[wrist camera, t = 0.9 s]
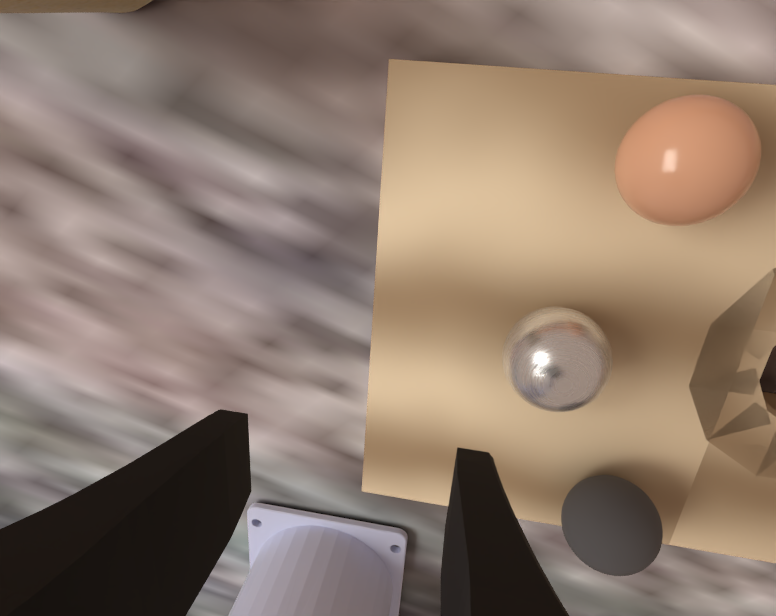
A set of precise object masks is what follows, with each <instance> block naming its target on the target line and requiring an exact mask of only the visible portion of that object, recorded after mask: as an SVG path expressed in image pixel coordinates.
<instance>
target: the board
mask: <svg viewBox="0 0 776 616" xmlns="http://www.w3.org/2000/svg"><path fill="white" fill-rule="evenodd" d="M686 95H710V96H716V97H719V98H723V99H725V100H727V101H730V102H732V103H733V104H735V105H736V106H738V107H739V108H741V109H742V110H743V111H744V112H745V113H746V114H747V115H748V116H749V117H750V118H751V120H752V121H753V123H754V125H755V127H756V129H757V131H758V134H759V137H760V141H761V160H760V165H759V169H758V172H757V175H756V177H755V179H754V181H753V183H752V185H751V187H750V188H749V189H748V191H747V192H746V194H745V195H744V196H743V197H742V198H741V199H740V200H739V201H738V202H737V203H736V204H735V205H734V206H733V207H731V208H730V209H729V210H727V211H726V212H724V213H723V214H721V215H719V216H717V217H715V218H713V219H711V220H708V221H705V222H702V223H699V224H694V225H689V226H667V225H660V224H657V223H654V222H651V221H649V220H647V219H645V218H642V217H641V216H639V215H638V214H636V213H635V212H634V211H633V210H632V209H631V208H630V207H629V206H628V205H627V204H626V203H625V201H624V200H623V198H622V197H621V195H620V193H619V191H618V188H617V184H616V180H615V172H614V168H615V159H616V154H617V151H618V147H619V145H620V143H621V141H622V139H623V137H624V135H625V134H626V132H627V131H628V130H629V128H630V127H631V126H632V125H633V123H634V122H635V121H636V120H637V119H638V118H639V117H641V116H642V115H643V114H644V113H646V112H647V111H648V110H650V109H651V108H653V107H654V106H656V105H658V104H660V103H662V102H664V101H667V100H670V99H673V98H676V97H680V96H686ZM546 307H565V308H570V309H573V310H577V311H579V312H581V313H583V314H585V315H587V316H588V317H590V318H591V319H592V320H593V321H595V322H596V323H597V324H598V325H599V326H600V328H601V329H602V330H603V332H604V333H605V335H606V336H607V338H608V341H609V343H610V346H611V350H612V356H613V367H612V372H611V376H610V379H609V382H608V384H607V385H606V387H605V389H604V390H603V391H602V393H601V394H600V395H599V396H598V397H597V398H596V399H595V400H594V401H592V402H591V403H589V404H588V405H586V406H584V407H582V408H579V409H577V410H573V411H568V412H550V411H545V410H541V409H538V408H536V407H534V406H532V405H530V404H529V403H527V402H525V401H524V400H523V399H521V398H520V397H519V396H518V395H517V394H516V393H515V392H514V390H513V389H512V388H511V386H510V384H509V382H508V381H507V379H506V376H505V373H504V370H503V365H502V352H503V346H504V342H505V340H506V337H507V335H508V333H509V332H510V330H511V329H512V327H513V326H514V325H515V324H516V323H517V322H518V321H519V320H520V319H521V318H522V317H524V316H525V315H527V314H529V313H530V312H533V311H535V310H538V309H541V308H546ZM774 346H776V85H768V84H753V83H738V82H723V81H709V80H694V79H679V78H664V77H649V76H634V75H619V74H604V73H590V72H575V71H560V70H545V69H530V68H515V67H500V66H486V65H471V64H456V63H441V62H426V61H411V60H396V59H389V66H388V82H387V98H386V114H385V130H384V146H383V162H382V178H381V194H380V209H379V225H378V241H377V257H376V273H375V289H374V305H373V321H372V337H371V352H370V368H369V384H368V400H367V416H366V432H365V448H364V464H363V480H362V491H363V492H369V493H375V494H381V495H386V496H392V497H398V498H404V499H409V500H415V501H421V502H427V503H432V504H438V505H444V506H448V505H449V499H450V492H451V486H452V479H453V472H454V466H455V459H456V453H457V447H458V448H465V449H471V450H477V451H484V452H489V453H490V455H491V456H492V457H493V459H494V462H495V466H496V469H497V472H498V475H499V477H500V480H501V483H502V485H503V488H504V490H505V493H506V495H507V498H508V500H509V502H510V505H511V507H512V509H513V512H514V514H515V516H516V518H518V519H524V520H530V521H536V522H541V523H547V524H553V525H559V526H562V523H561V511H562V506H563V503H564V500H565V498H566V496H567V494H568V493H569V491H570V490H571V489H572V488H573V487H574V486H575V485H576V484H577V483H578V482H580V481H582V480H583V479H586V478H588V477H591V476H596V475H613V476H617V477H620V478H623V479H626V480H628V481H630V482H632V483H633V484H635V485H636V486H638V487H639V488H640V489H642V490H643V491H644V492H645V493H646V494H647V495H648V496H649V498H650V499H651V500H652V502H653V503H654V505H655V507H656V508H657V511H658V513H659V515H660V518H661V522H662V529H663V538H662V544H668V545H674V546H679V547H685V548H691V549H697V550H702V551H708V552H714V553H720V554H725V555H731V556H737V557H743V558H748V559H754V560H760V561H766V562H771V563H776V394H775V393H767V392H762V390H761V386H760V382H759V380H760V378H761V375H762V373H763V370H764V368H765V366H766V363H767V361H768V358H769V356H770V353H771V351H772V349H773V347H774Z"/></svg>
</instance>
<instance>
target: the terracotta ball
mask: <svg viewBox="0 0 776 616" xmlns="http://www.w3.org/2000/svg"><path fill="white" fill-rule="evenodd" d="M760 160H761V141H760V137H759V134H758V131H757V129H756V127H755V125H754V123H753V121H752V120H751V118H750V117H749V116H748V115H747V114H746V113H745V112H744V111H743V110H742V109H741V108H739V107H738V106H736V105H735V104H733V103H732V102H730V101H727V100H725V99H723V98H719V97H716V96H710V95H686V96H680V97H676V98H673V99H670V100H667V101H664V102H662V103H660V104H658V105H656V106H654V107H653V108H651V109H650V110H648V111H647V112H646V113H644V114H643V115H642V116H641V117H639V118H638V119H637V120H636V121H635V122H634V123H633V125H632V126H631V127H630V128H629V130H628V131H627V132H626V134H625V135H624V137H623V139H622V141H621V143H620V145H619V147H618V151H617V154H616V159H615V168H614V172H615V180H616V184H617V188H618V191H619V193H620V195H621V197H622V198H623V200H624V201H625V203H626V204H627V205H628V206H629V207H630V208H631V209H632V210H633V211H634V212H635V213H636V214H638V215H639V216H641V217H642V218H645V219H647V220H649V221H651V222H654V223H657V224H660V225H667V226H689V225H694V224H699V223H702V222H705V221H708V220H711V219H713V218H715V217H717V216H719V215H721V214H723V213H724V212H726V211H727V210H729V209H730V208H731V207H733V206H734V205H735V204H736V203H737V202H738V201H739V200H740V199H741V198H742V197H743V196H744V195H745V194H746V192H747V191H748V189H749V188H750V187H751V185H752V183H753V181H754V179H755V177H756V175H757V172H758V169H759V165H760Z"/></svg>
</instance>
